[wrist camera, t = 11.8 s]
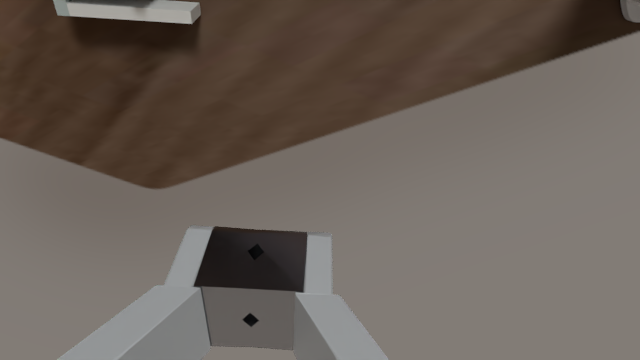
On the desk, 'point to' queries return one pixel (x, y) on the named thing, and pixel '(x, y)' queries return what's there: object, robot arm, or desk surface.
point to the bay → (131, 10)
